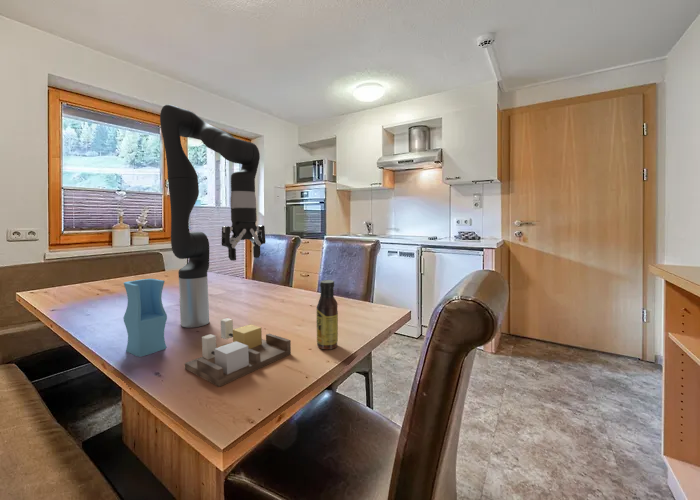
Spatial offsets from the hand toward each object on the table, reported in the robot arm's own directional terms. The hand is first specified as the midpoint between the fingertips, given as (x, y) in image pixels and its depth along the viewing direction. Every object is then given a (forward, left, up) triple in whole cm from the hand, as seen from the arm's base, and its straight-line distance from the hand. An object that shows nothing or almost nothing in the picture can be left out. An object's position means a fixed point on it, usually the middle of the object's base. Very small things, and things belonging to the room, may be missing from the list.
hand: (245, 259), depth 101 cm
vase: (-15, -23, -26) cm, 38 cm away
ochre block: (+5, -7, -24) cm, 25 cm away
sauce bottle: (+26, +9, -25) cm, 37 cm away
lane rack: (+13, -12, -25) cm, 31 cm away
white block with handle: (+13, -17, -24) cm, 32 cm away
